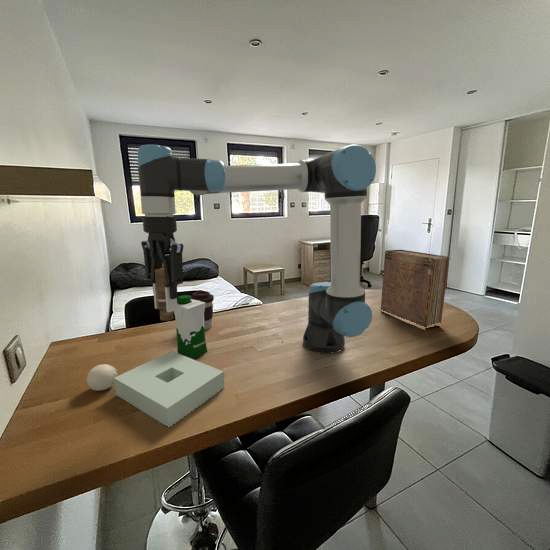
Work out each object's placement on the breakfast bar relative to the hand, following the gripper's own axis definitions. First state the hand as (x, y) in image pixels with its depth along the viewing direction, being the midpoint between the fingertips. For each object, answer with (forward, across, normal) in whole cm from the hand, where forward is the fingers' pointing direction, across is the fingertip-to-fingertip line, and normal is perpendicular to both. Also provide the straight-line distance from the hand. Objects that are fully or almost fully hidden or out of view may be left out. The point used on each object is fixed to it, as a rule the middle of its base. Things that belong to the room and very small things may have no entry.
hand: (166, 308), depth 74 cm
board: (+23, 0, 0) cm, 23 cm away
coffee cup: (+23, +26, -35) cm, 50 cm away
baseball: (+24, +17, +10) cm, 31 cm away
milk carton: (+23, +12, -17) cm, 32 cm away
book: (+22, -44, -93) cm, 105 cm away
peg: (+3, 0, 0) cm, 3 cm away
